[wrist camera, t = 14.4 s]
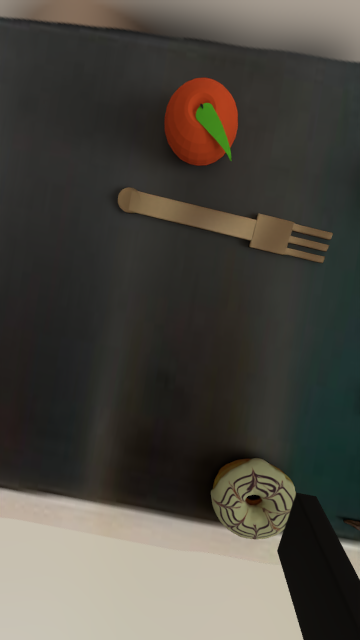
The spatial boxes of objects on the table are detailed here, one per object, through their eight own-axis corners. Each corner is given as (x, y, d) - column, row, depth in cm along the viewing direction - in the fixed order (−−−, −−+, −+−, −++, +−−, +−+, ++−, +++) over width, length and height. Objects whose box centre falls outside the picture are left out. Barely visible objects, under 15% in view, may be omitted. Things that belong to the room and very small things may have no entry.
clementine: (252, 150, 32) (269, 122, 25) (201, 195, 33) (203, 180, 26) (205, 85, 31) (208, 36, 24) (154, 134, 32) (143, 100, 25)
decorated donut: (252, 436, 39) (258, 455, 35) (307, 488, 40) (318, 511, 37) (195, 484, 41) (196, 507, 37) (249, 532, 42) (255, 559, 38)
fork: (116, 215, 34) (114, 214, 33) (122, 181, 33) (120, 180, 32) (320, 264, 34) (322, 264, 33) (331, 232, 33) (333, 231, 33)
